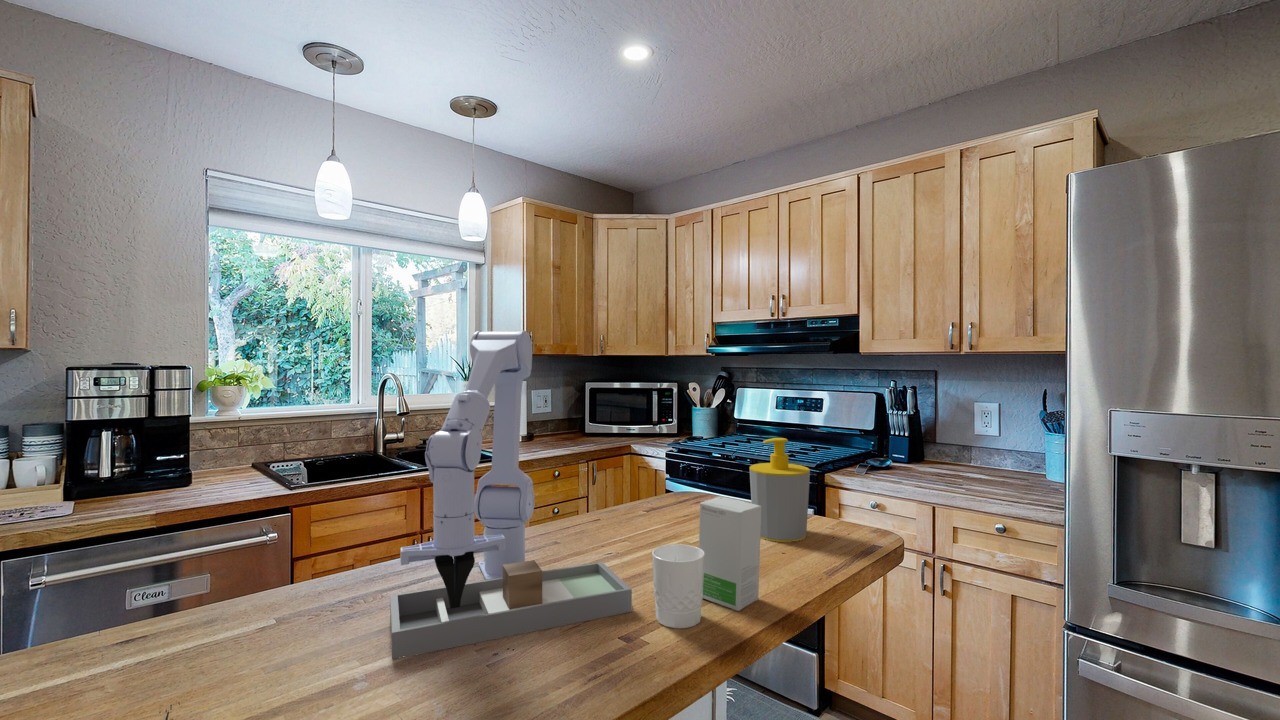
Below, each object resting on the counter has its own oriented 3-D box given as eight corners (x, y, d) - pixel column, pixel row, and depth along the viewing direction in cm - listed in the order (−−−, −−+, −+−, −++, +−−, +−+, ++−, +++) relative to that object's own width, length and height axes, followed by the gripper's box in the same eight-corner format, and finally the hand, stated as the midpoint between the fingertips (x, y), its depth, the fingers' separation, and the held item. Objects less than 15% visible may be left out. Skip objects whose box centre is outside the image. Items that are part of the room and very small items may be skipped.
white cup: (702, 633, 82) (702, 563, 82) (647, 628, 84) (647, 559, 84) (706, 609, 90) (706, 545, 90) (657, 605, 91) (656, 542, 91)
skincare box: (696, 597, 94) (696, 502, 94) (719, 585, 99) (719, 495, 99) (740, 612, 89) (740, 511, 89) (762, 599, 94) (762, 503, 94)
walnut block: (502, 596, 90) (502, 564, 90) (534, 591, 92) (534, 560, 92) (509, 609, 85) (509, 575, 85) (542, 603, 87) (542, 570, 87)
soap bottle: (742, 526, 134) (742, 435, 134) (796, 524, 135) (796, 434, 135) (760, 544, 121) (760, 443, 121) (819, 542, 122) (819, 442, 122)
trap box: (390, 618, 87) (390, 595, 87) (602, 581, 101) (602, 561, 101) (392, 659, 75) (392, 632, 75) (631, 611, 89) (631, 589, 89)
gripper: (401, 525, 78) (401, 626, 78) (509, 513, 84) (509, 607, 84) (399, 513, 84) (400, 605, 84) (500, 502, 90) (500, 589, 90)
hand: (454, 605), depth 84 cm, fingers closed
